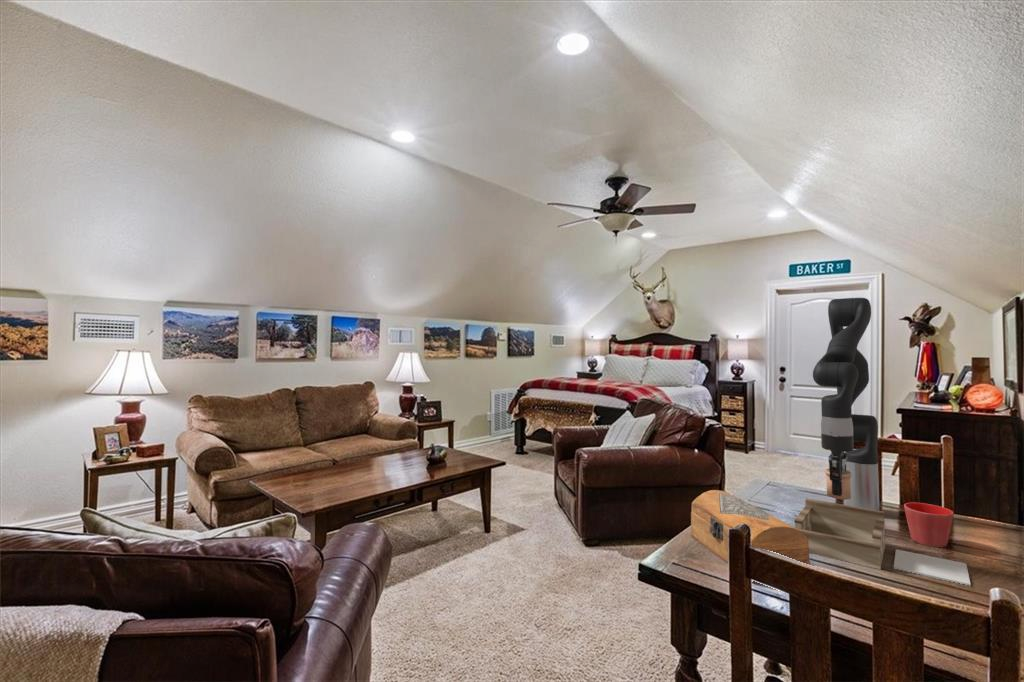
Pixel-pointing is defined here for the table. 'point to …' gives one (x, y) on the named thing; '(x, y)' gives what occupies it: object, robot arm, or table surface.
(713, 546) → the wooden box
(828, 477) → the seedling pot
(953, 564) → the grey mat
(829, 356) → the robot arm
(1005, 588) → the table surface
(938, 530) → the flower pot
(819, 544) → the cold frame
